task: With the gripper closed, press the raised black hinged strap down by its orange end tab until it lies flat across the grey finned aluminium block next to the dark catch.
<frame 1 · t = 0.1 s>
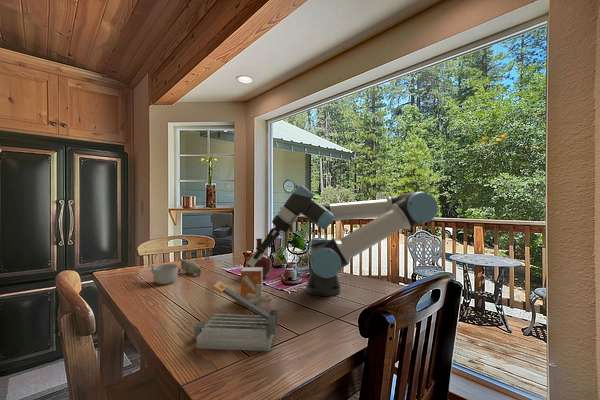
hand: (253, 261, 118), 15 cm above the table, tool tilted 35°, fingers open, 13 cm apart
small box: (251, 301, 115), on the table
round-bottom flask: (258, 277, 151), on the table
pipe connector: (258, 313, 104), on the table
decorative bird: (189, 274, 156), on the table
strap: (245, 302, 84), point 11 cm above the table, hinge at 30.0°
teacup: (163, 282, 140), on the table
heatsink: (238, 339, 84), on the table
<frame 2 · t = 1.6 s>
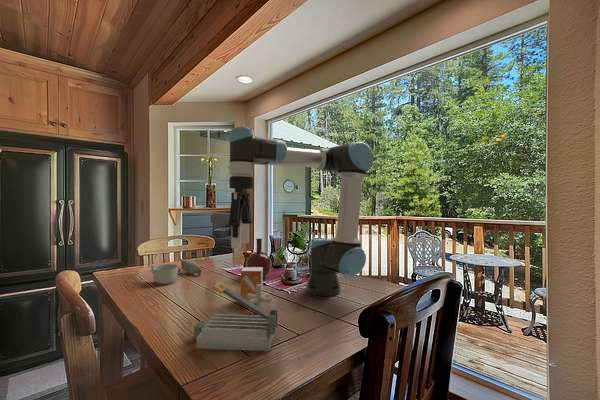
hand: (240, 245, 93), 26 cm above the table, tool pointing down, fingers open, 10 cm apart
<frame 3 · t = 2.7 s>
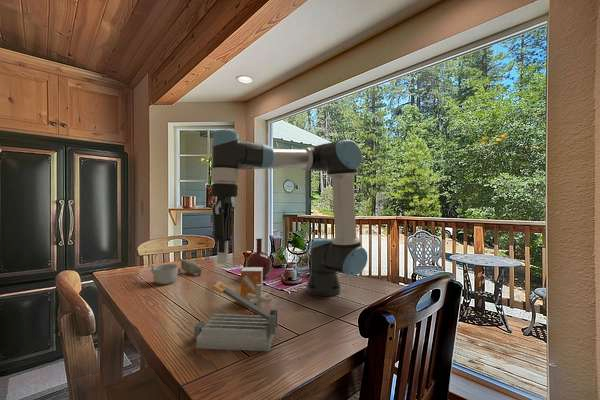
hand: (222, 262, 86), 22 cm above the table, tool pointing down, fingers closed
nothing on the table moved.
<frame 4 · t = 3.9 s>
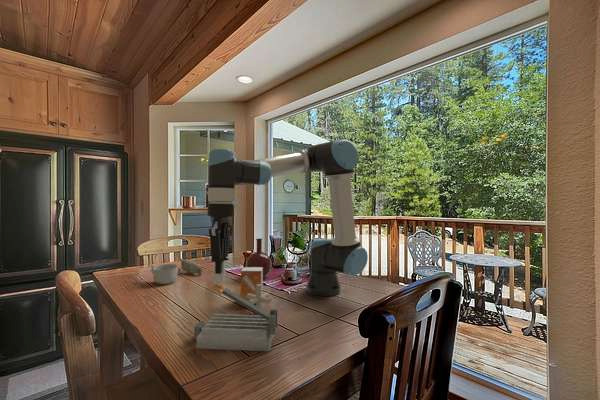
hand: (219, 283, 85), 16 cm above the table, tool pointing down, fingers closed
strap: (244, 303, 84), point 11 cm above the table, hinge at 29.0°, touching gripper
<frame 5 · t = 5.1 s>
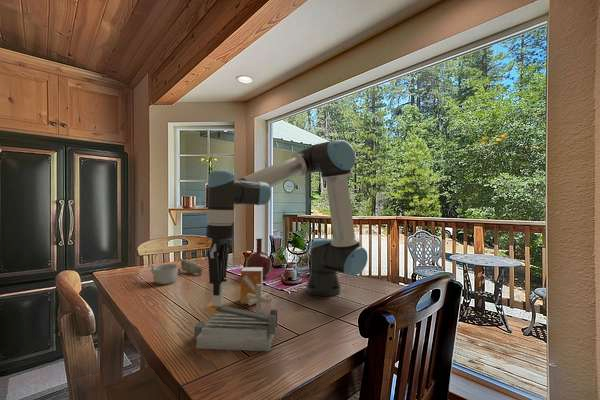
hand: (217, 305, 84), 10 cm above the table, tool pointing down, fingers closed
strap: (241, 312, 84), point 8 cm above the table, hinge at 10.1°, touching gripper
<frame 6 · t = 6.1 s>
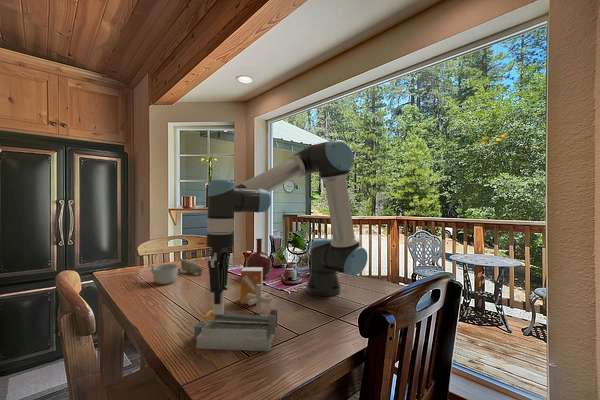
hand: (218, 313, 84), 7 cm above the table, tool pointing down, fingers closed
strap: (240, 317, 84), point 6 cm above the table, hinge at 2.5°, touching gripper
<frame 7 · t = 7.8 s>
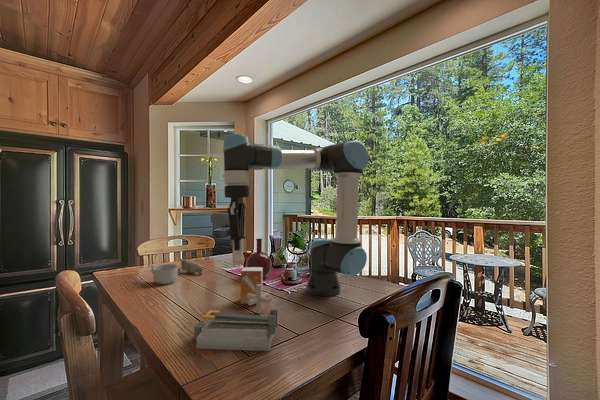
hand: (238, 259, 91), 22 cm above the table, tool pointing down, fingers closed
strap: (240, 317, 84), point 6 cm above the table, hinge at 2.5°
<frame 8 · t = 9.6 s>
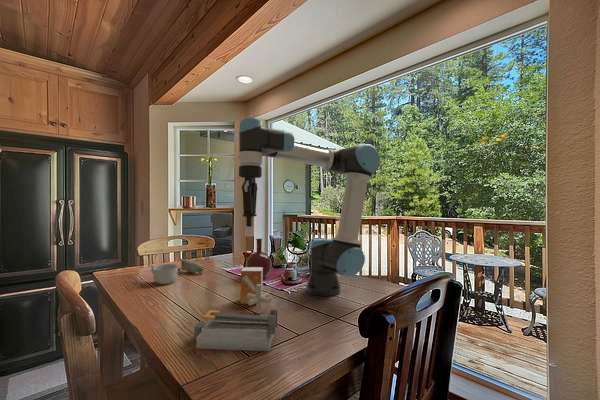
hand: (249, 235, 97), 28 cm above the table, tool pointing down, fingers closed
at the end: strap at +2° (first picture: +30°); the gripper is holding nothing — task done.
